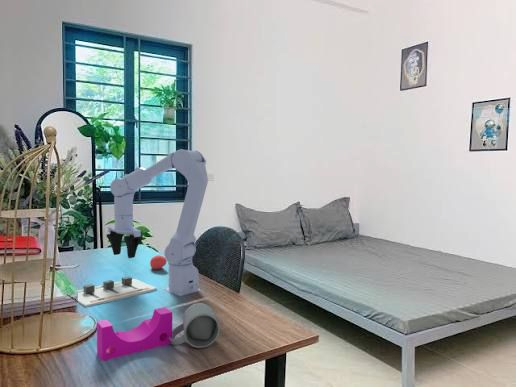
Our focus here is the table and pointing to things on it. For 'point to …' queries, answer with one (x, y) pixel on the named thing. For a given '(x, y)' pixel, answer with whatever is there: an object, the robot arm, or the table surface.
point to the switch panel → (113, 293)
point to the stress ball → (158, 262)
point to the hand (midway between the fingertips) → (124, 256)
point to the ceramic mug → (197, 327)
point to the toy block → (134, 336)
